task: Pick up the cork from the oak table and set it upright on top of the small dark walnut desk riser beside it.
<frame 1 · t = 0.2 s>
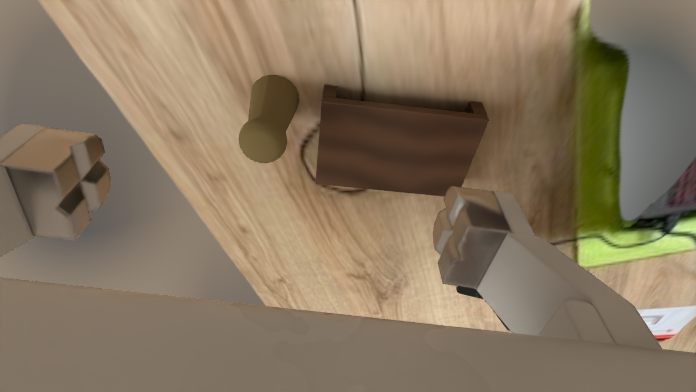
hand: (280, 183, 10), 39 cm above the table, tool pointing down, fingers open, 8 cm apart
desk riser: (394, 136, 56), on the table
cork: (275, 96, 52), on the table
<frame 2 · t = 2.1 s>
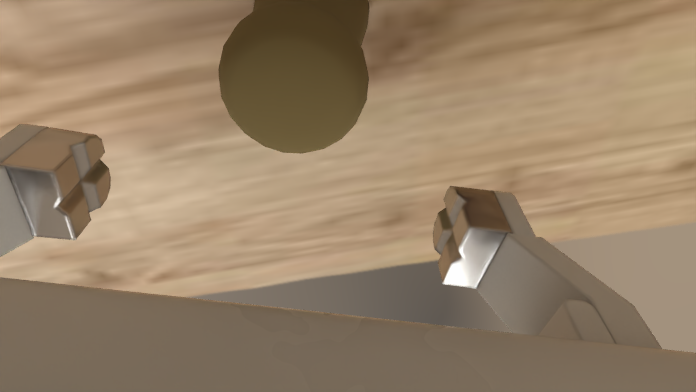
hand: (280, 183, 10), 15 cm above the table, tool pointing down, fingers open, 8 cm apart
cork: (312, 12, 22), on the table
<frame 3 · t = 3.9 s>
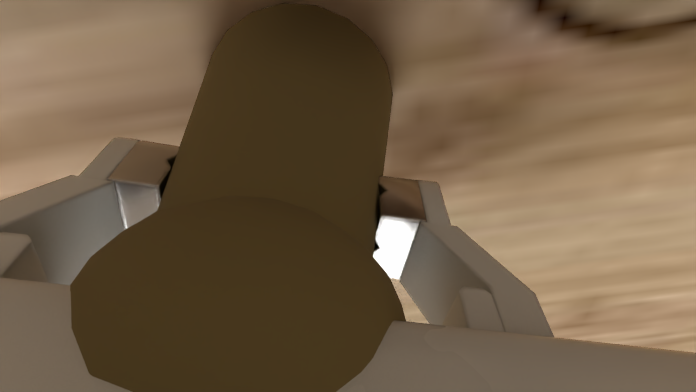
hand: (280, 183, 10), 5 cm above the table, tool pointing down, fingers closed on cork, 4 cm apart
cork: (301, 99, 14), on the table, touching gripper
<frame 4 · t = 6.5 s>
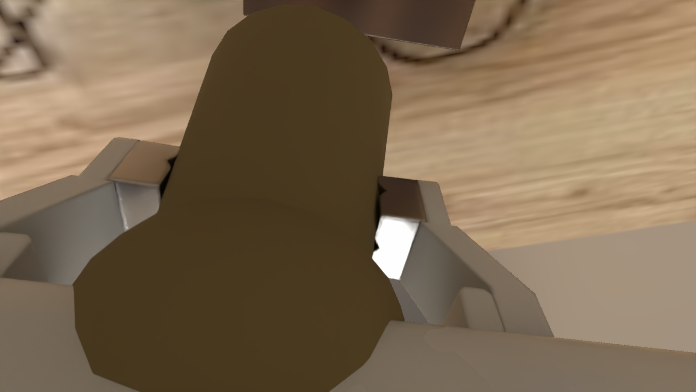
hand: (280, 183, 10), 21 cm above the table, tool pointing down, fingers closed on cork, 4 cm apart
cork: (300, 99, 14), point 16 cm above the table, touching gripper
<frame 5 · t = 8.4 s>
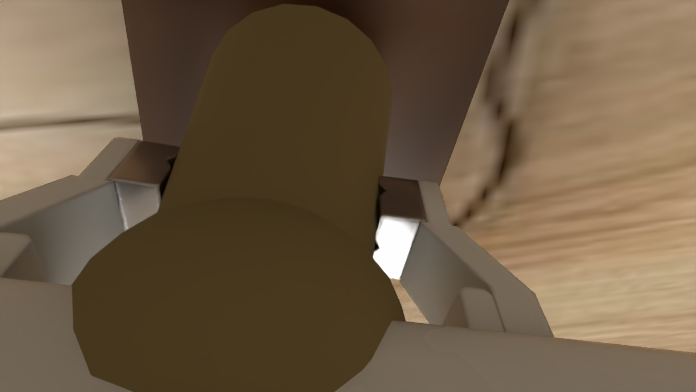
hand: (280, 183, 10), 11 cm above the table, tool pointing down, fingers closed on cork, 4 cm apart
desk riser: (314, 39, 19), on the table
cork: (301, 99, 14), point 6 cm above the table, touching gripper
when the fingers open (9 cm above the table, at t = 9.6 s): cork stays where it is, resting on desk riser.
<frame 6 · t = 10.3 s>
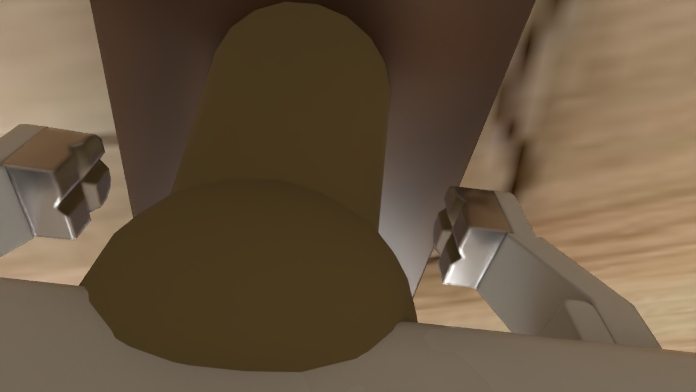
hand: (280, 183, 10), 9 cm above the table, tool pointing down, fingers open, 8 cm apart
desk riser: (311, 55, 17), on the table
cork: (301, 95, 14), point 4 cm above the table, touching desk riser
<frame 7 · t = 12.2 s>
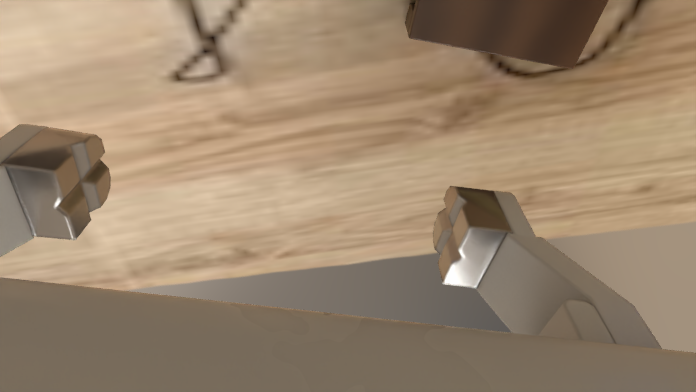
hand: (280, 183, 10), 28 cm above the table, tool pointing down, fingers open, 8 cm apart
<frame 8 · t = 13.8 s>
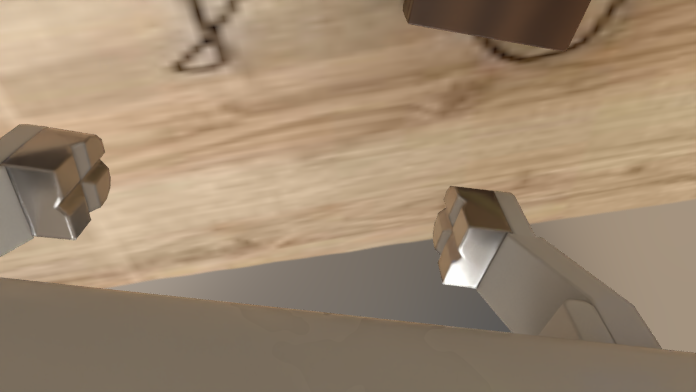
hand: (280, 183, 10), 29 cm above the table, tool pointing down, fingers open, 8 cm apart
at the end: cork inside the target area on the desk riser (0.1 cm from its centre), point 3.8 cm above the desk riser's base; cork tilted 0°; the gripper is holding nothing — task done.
